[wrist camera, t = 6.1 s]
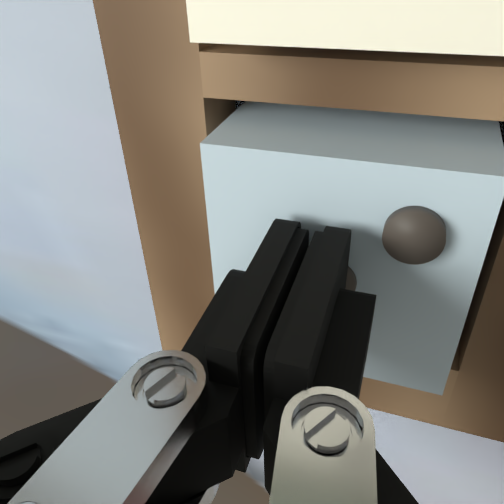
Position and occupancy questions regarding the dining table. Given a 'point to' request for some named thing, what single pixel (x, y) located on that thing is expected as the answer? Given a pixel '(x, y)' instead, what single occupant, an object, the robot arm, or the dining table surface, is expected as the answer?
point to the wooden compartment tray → (295, 93)
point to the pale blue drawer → (367, 214)
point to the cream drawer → (353, 24)
